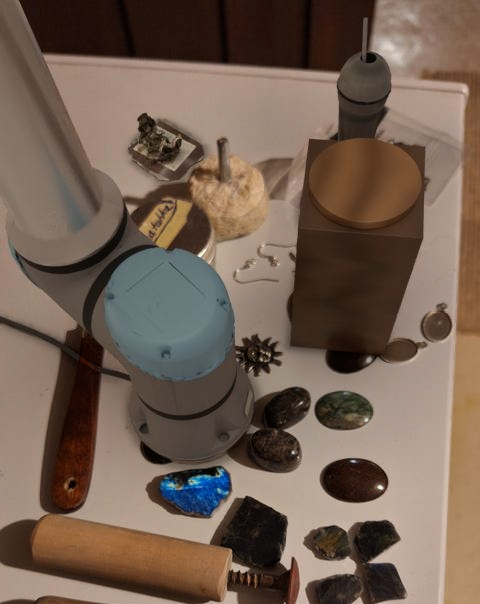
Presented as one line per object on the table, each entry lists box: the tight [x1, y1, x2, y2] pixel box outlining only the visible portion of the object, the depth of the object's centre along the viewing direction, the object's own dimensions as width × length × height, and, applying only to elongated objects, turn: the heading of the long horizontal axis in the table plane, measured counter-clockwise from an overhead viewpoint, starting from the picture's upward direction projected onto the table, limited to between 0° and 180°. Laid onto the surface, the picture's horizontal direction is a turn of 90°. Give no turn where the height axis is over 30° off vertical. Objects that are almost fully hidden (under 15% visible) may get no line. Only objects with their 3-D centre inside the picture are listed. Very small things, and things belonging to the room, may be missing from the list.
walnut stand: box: [289, 138, 426, 356], centre depth 73 cm, size 12×12×22 cm
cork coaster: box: [308, 138, 422, 229], centre depth 63 cm, size 11×11×1 cm
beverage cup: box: [335, 17, 393, 141], centre depth 85 cm, size 7×7×20 cm
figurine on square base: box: [127, 112, 205, 182], centre depth 95 cm, size 12×6×11 cm
